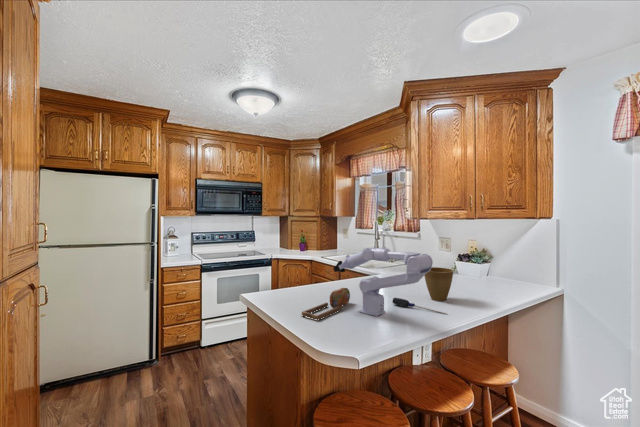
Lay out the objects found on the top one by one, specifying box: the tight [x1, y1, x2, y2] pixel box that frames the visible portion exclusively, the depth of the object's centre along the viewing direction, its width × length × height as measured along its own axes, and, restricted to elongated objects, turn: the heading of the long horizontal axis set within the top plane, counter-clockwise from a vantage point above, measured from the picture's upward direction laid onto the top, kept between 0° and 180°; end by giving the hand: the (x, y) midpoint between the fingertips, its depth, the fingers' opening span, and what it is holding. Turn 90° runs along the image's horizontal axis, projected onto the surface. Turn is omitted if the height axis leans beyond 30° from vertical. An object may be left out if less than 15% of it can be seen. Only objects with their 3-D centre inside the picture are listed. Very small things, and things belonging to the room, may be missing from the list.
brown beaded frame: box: [301, 302, 343, 320], centre depth 136 cm, size 9×18×2 cm, turn 141°
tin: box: [329, 287, 351, 309], centre depth 147 cm, size 15×3×8 cm, turn 143°
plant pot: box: [423, 266, 454, 302], centre depth 159 cm, size 15×15×16 cm
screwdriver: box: [392, 297, 449, 316], centre depth 142 cm, size 26×4×4 cm, turn 56°
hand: (339, 267), depth 154 cm, fingers open, 7 cm apart
